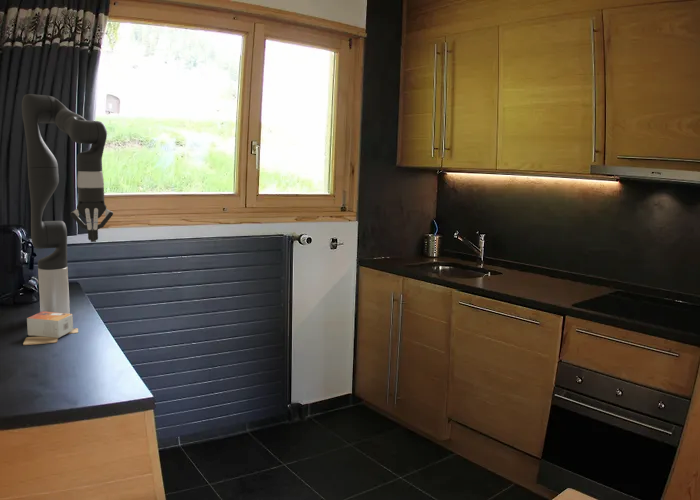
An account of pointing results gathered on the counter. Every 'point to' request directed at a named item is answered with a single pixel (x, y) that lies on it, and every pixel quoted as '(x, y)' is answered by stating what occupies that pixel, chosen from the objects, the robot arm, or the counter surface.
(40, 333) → the small box
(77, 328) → the turner
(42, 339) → the plate
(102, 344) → the counter surface
